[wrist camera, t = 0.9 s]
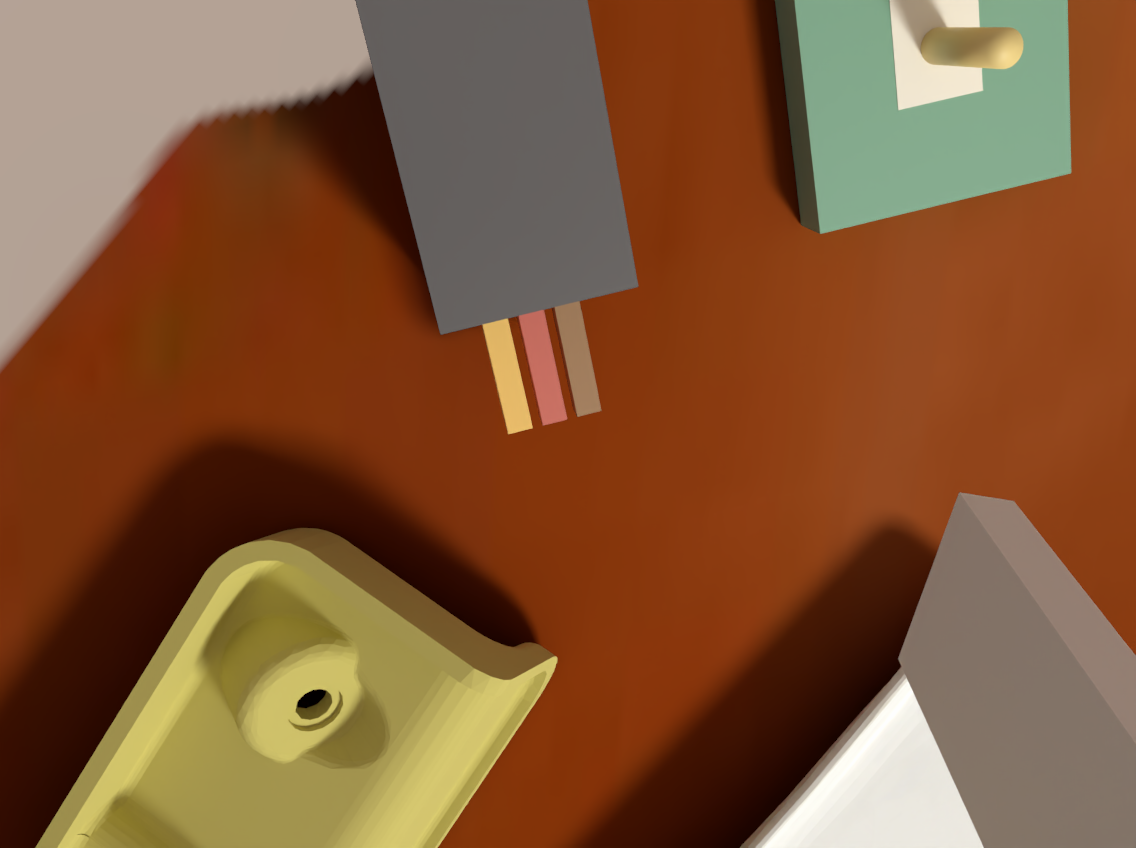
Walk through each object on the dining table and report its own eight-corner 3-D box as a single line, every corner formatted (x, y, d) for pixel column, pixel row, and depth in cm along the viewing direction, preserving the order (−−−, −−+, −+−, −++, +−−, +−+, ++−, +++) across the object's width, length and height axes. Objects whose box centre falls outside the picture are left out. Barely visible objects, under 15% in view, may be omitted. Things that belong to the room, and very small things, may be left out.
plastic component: (245, 506, 31) (533, 710, 30) (340, 481, 38) (574, 644, 37) (-81, 1035, 33) (174, 1242, 32) (67, 916, 40) (279, 1082, 39)
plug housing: (615, 366, 34) (664, 433, 28) (458, 405, 33) (477, 481, 28) (520, -127, 28) (558, -164, 23) (333, -89, 28) (326, -117, 22)
